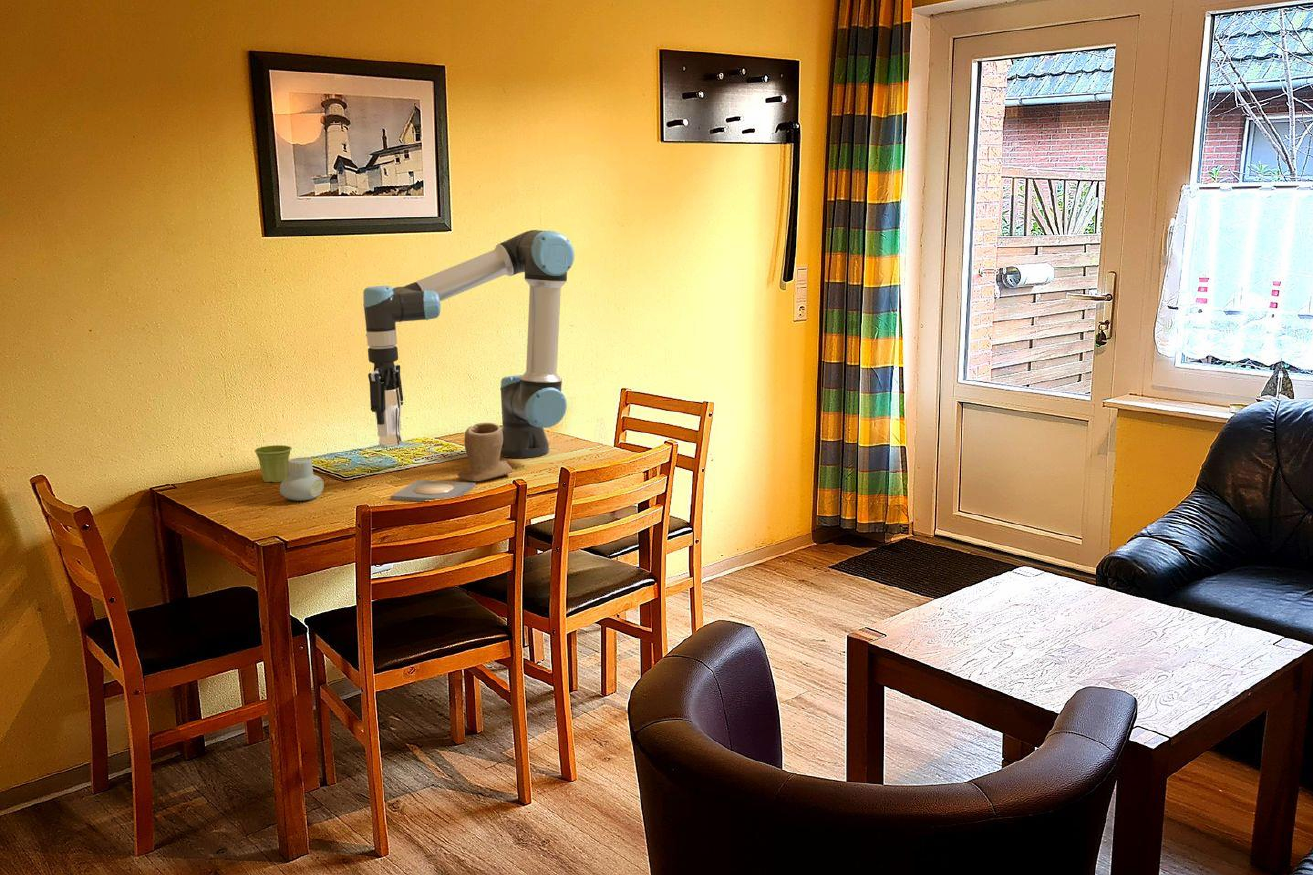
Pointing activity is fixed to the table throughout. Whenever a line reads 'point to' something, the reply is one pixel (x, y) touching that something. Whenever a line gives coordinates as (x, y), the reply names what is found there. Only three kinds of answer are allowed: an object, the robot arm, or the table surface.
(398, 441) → the beer glass
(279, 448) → the plant pot
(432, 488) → the slate board
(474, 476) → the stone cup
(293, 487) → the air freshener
